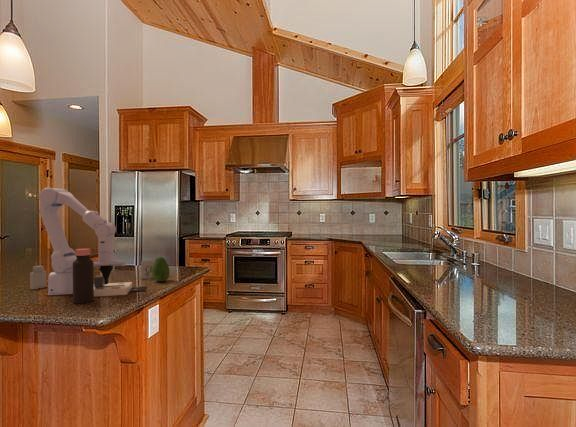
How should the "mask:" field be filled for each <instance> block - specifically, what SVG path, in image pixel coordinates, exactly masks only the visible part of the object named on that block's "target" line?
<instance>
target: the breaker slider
mask: <svg viewBox="0 0 576 427" xmlns="http://www.w3.org/2000/svg"><path fill="white" fill-rule="evenodd" d="M104 285H105V280H104V277H103V275H102V274H99V275H96V276H94V287H103V286H104Z"/></svg>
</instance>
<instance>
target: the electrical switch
mask: <svg viewBox="0 0 576 427" xmlns="http://www.w3.org/2000/svg"><path fill="white" fill-rule="evenodd" d="M155 260H156V259H147V260H145V259H144V260H141V261H140V269H141V270H140V274H141V276H140V279H141V280H150V279H154V278H153V276H152V268H153V265H154V262H155Z"/></svg>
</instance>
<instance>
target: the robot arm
mask: <svg viewBox="0 0 576 427" xmlns="http://www.w3.org/2000/svg"><path fill="white" fill-rule="evenodd" d="M37 196H38V199H39V209H38V210H39V214H40V216H41V219H42V223H43V224H44V228H45V230H46V233H47V236H48V238H49V241H50V243H51V247H52V250H53V252H52V254H51V255H50V259H51V263H50V264H51V269H52V270H53V271H52V272H50V273H49V275H48V282H47V285H48V286H47V292H48V293H47V296H58V295H59V296H61V295H73V262H74V261H75V260H76V259H77V257H76V255H75V250H74V249H73V248H71V247H70V245H69V243H68V240H67V236H66V234H65V231H64V229H63V226H62V223H61V220H60V218H59V216H58V211H59V210H60V208H62V207H63V206H64V205H66V206H68V207H69V208H70V209H72V210H73V211H75V213H77V214H79V215H80V216H81V217H82V218H81V219H82V221H83V222H84V223H85V224H86V225H88V226H89V227H90V228H91V229H92V230H94V233H95V235H96V236H97V244H98V245H97V248H98V252H97V253H98V257H97V258H98V261H93V266H94V268H98V270H99V271H100V273H101V275H103V277H104V280H105V284H108V283H110V282H109V280H110V275H111V272H112V271H113V268H114V267H125V266H126V265H127V264H126V263H127V261H126V260H115V238H114V237H115V236H114V235H115V234H116V232H117V227H116V225H115V224H114V222H110V221H109V222H108V220H107V219H106V218H105V219H104V218H103V217H102V216H101V215H100V213H99V211H96V210H89V209H88V208H87V207H86V206H85V205H84V204H82V203H81V202H80V201H79V199H77V198H76V197H75V196H74V195H73V193H71V192H69V191H68V190H67V189H65V188H53V187H50V186H49V187H45V188H43V189H42V190H41V191H40V193H39V194H38V195H37Z"/></svg>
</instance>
